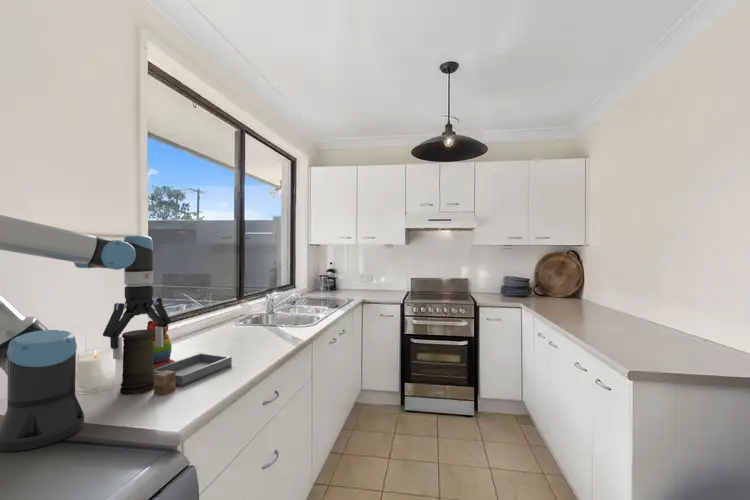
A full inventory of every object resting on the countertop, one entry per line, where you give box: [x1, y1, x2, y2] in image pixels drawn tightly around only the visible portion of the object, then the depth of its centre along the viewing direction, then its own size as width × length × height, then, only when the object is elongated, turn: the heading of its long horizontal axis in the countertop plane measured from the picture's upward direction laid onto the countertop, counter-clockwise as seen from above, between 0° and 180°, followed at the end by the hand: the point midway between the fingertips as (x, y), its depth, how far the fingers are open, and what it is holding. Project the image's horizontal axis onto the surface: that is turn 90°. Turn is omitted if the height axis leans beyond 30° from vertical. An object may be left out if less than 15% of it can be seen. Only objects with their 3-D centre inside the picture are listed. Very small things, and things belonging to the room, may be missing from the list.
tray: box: [154, 352, 233, 388], centre depth 124 cm, size 22×15×4 cm
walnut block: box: [153, 370, 176, 397], centre depth 107 cm, size 4×4×6 cm
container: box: [119, 329, 154, 396], centre depth 110 cm, size 9×9×18 cm
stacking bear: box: [146, 320, 176, 369], centre depth 131 cm, size 11×10×18 cm
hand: (139, 352), depth 110 cm, fingers open, 13 cm apart
